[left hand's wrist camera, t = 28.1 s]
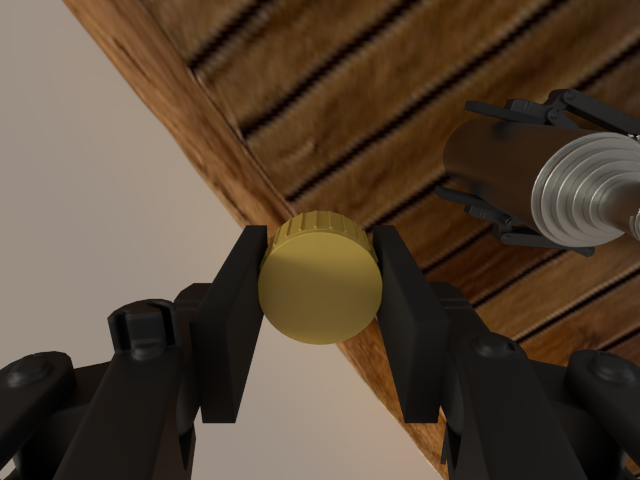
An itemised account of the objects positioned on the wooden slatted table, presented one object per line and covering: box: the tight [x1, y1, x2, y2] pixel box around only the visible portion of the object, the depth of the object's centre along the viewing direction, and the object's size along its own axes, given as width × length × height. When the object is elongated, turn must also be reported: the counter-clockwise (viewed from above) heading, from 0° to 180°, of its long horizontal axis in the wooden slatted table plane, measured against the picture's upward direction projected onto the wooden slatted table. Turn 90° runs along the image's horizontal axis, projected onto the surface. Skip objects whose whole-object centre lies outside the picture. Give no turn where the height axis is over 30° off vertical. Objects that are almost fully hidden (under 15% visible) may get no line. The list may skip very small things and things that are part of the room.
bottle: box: [443, 119, 640, 247], centre depth 30 cm, size 8×8×25 cm
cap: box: [258, 210, 382, 345], centre depth 13 cm, size 4×4×2 cm
